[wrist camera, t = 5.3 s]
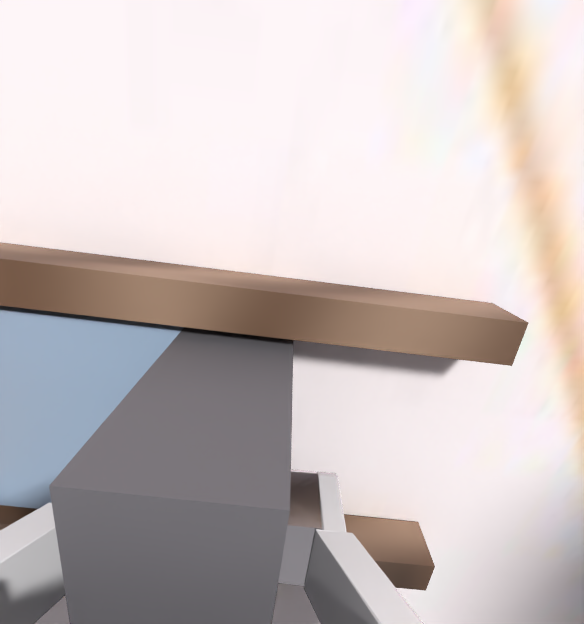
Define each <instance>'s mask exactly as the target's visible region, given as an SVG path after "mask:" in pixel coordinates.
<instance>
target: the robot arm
mask: <svg viewBox="0 0 584 624" xmlns="http://www.w3.org/2000/svg"><path fill="white" fill-rule="evenodd" d="M278 583H283V584H290V585H298V586H304V589H305V591H306V594H307V596H308V598H309V600H310V602H311V604H312V606H313V608H314V610H315V612H316V615H317V617H318V619H319V621H320V623H321V624H424V623H423V622H422V621H421V620H420V618H419V617H418V616H417V614H416V613H415V612H414V611H413V609H412V608H411V607H410V606H409V604H408V603H407V602H406V600H405V599H404V598H403V597H402V595H401V594H400V593H399V591H398V590H397V589H396V588H395V586H394V585H393V584H392V583H391V581H390V580H389V579H388V577H387V576H386V575H385V574H384V572H383V571H382V570H381V569H380V567H379V566H378V565H377V563H376V562H375V561H374V560H373V558H372V557H371V556H370V555H369V553H368V552H367V551H366V549H365V548H364V547H363V546H362V544H361V543H360V542H359V540H358V539H357V538H356V537H355V535H354V534H353V533H348V532H346V525H345V519H344V513H343V506H342V500H341V494H340V487H339V481H338V476H337V475H336V473H326V472H314V471H304V470H293V469H291V483H290V513H289V520H288V526H287V532H286V538H285V544H284V550H283V556H282V563H281V569H280V575H279V581H278ZM65 595H66V593H65V587H64V580H63V574H62V567H61V561H60V554H59V548H58V541H57V535H56V528H55V522H54V515H53V508H52V503H47V504H46V505H44V506H42V507H41V508H39V509H37V510H35V511H34V512H32V513H30V514H28V515H27V516H25V517H23V518H21V519H20V520H18V521H16V522H14V523H13V524H11V525H9V526H7V527H6V528H4V529H2V530H0V624H34V623H35V622H36V621H37V620H38V619H39V618H41V617H42V616H43V615H44V614H45V613H46V612H47V611H48V610H49V609H50V608H51V607H53V606H54V605H55V604H56V603H57V602H58V601H59V600H60V599H61V598H62V597H63V596H65Z"/></svg>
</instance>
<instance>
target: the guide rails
mask: <svg viewBox="0 0 584 624" xmlns="http://www.w3.org/2000/svg"><path fill="white" fill-rule="evenodd" d="M0 305H1V306H9V307H18V308H26V309H35V310H43V311H52V312H60V313H69V314H77V315H86V316H94V317H103V318H111V319H120V320H128V321H137V322H145V323H154V324H162V325H171V326H179V327H188V328H196V329H205V330H213V331H222V332H230V333H239V334H247V335H256V336H264V337H273V338H281V339H290V340H298V341H307V342H315V343H324V344H332V345H341V346H349V347H358V348H366V349H375V350H383V351H391V352H400V353H408V354H417V355H425V356H434V357H442V358H451V359H459V360H468V361H476V362H485V363H493V364H502V365H510V366H512V364H513V362H514V359H515V356H516V354H517V351H518V349H519V346H520V343H521V341H522V338H523V336H524V333H525V330H526V328H527V325H528V322H526V321H524V320H522V319H520V318H519V317H517V316H515V315H513V314H511V313H509V312H508V311H506V310H504V309H502V308H500V307H498V306H496V305H495V304H493V303H486V302H478V301H470V300H462V299H454V298H446V297H438V296H430V295H422V294H413V293H405V292H397V291H389V290H381V289H373V288H365V287H357V286H349V285H340V284H332V283H324V282H316V281H308V280H300V279H292V278H284V277H276V276H267V275H259V274H251V273H243V272H235V271H227V270H219V269H211V268H202V267H194V266H186V265H178V264H170V263H162V262H154V261H146V260H138V259H129V258H121V257H113V256H105V255H97V254H89V253H81V252H73V251H65V250H56V249H48V248H40V247H32V246H24V245H16V244H8V243H0ZM35 510H37V509H35V508H25V507H15V506H5V505H0V530H2V529H4V528H6V527H7V526H9V525H11V524H13V523H14V522H16V521H18V520H20V519H21V518H23V517H25V516H27V515H28V514H30V513H32V512H34V511H35ZM344 519H345V525H346V532H348V533H353V534H354V535H355V537H356V538H357V539H358V540H359V542H360V543H361V544H362V546H363V547H364V548H365V549H366V551H367V552H368V553H369V555H370V556H371V557H372V558H373V560H374V561H375V562H376V563H377V565H378V566H379V567H380V569H381V570H382V571H383V572H384V574H385V575H386V576H387V577H388V579H389V580H390V581H391V583H392V584H393V585H394V586H395V587H396V588H407V589H417V590H426V588H427V586H428V583H429V580H430V578H431V575H432V573H433V570H434V567H435V566H434V563H433V560H432V558H431V555H430V552H429V550H428V547H427V544H426V542H425V539H424V536H423V534H422V531H421V529H420V526H419V523H418V522H411V521H401V520H392V519H382V518H372V517H362V516H353V515H344Z"/></svg>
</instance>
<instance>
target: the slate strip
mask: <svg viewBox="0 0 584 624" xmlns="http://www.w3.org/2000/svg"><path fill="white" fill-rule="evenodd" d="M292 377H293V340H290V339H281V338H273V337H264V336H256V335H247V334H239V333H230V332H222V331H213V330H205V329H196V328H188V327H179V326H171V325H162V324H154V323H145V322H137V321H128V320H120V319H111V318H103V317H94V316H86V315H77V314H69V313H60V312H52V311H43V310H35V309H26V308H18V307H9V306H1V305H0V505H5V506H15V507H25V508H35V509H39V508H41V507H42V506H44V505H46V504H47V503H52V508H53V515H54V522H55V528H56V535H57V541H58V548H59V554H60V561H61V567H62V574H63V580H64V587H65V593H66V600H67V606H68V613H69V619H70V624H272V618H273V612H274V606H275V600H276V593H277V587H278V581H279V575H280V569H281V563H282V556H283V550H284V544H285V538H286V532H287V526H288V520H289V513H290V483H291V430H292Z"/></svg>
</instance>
